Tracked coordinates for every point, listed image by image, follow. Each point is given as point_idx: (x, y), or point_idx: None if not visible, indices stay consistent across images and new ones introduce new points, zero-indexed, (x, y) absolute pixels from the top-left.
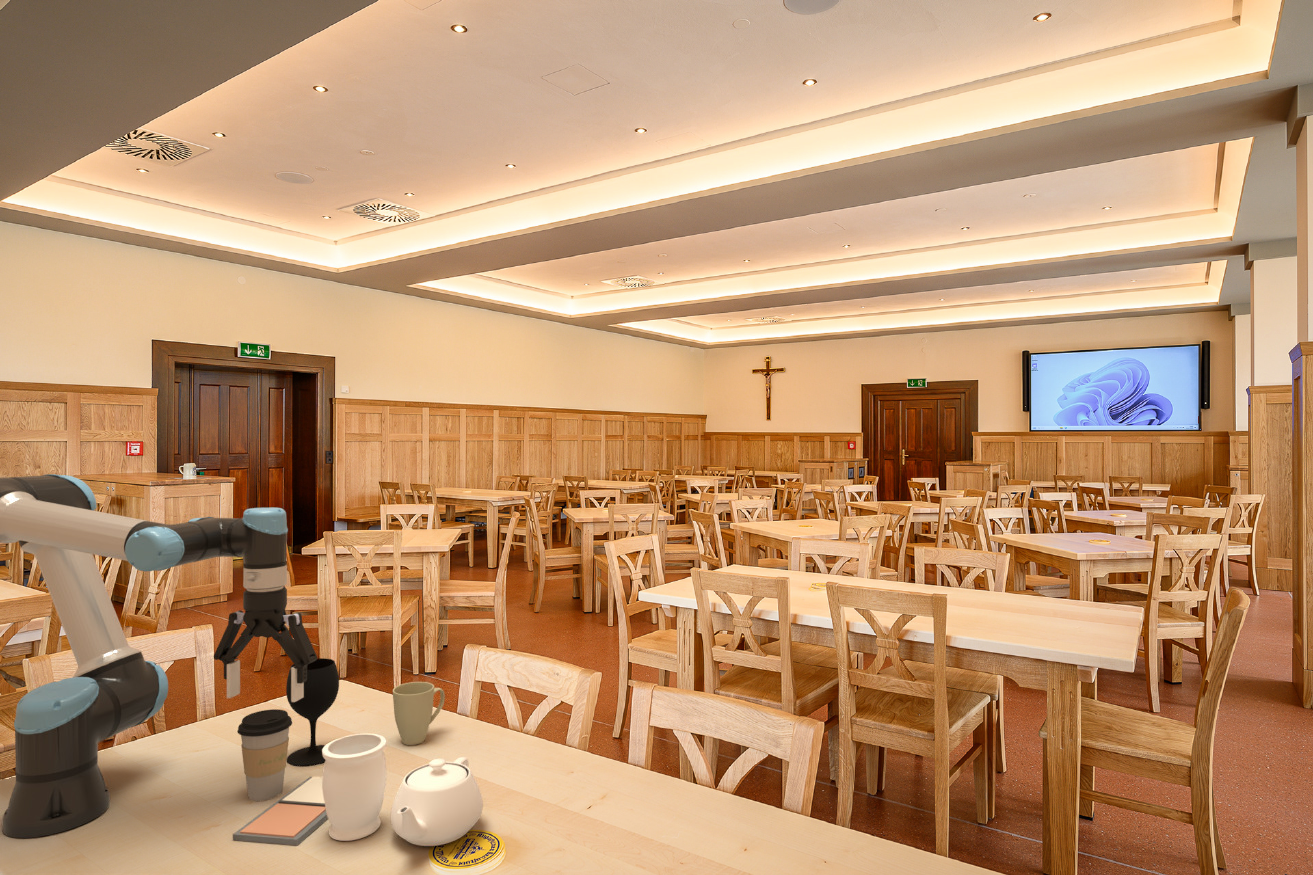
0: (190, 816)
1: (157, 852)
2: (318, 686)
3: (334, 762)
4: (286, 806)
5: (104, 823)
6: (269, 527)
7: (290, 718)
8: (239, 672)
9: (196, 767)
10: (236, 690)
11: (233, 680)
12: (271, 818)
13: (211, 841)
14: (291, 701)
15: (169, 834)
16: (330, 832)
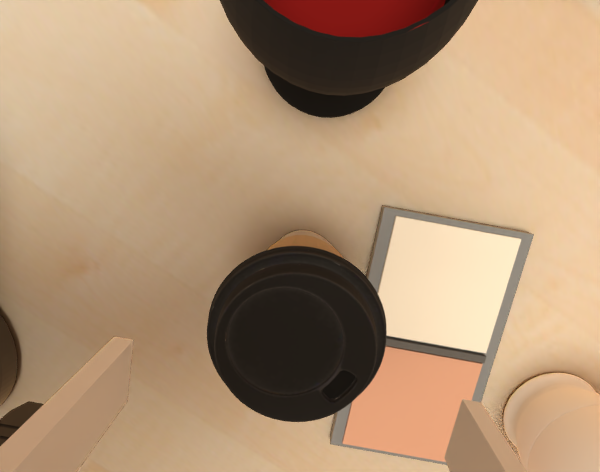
0: (196, 350)
1: (218, 464)
2: (424, 60)
3: None
4: (391, 357)
5: (46, 368)
6: None
7: (375, 304)
8: (71, 415)
9: (48, 110)
10: (120, 376)
11: (86, 437)
12: (381, 402)
13: (292, 437)
14: (446, 459)
15: (200, 411)
16: (513, 442)
